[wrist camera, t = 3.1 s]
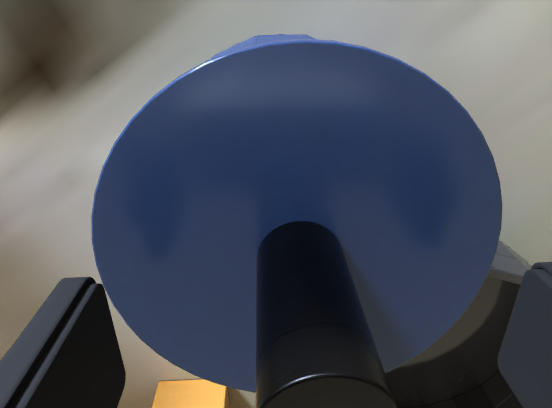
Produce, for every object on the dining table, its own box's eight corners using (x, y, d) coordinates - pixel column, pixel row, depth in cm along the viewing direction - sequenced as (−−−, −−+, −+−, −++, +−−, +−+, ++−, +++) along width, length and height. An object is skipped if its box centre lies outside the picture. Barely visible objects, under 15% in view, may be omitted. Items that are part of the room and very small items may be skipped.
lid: (60, 40, 10) (-205, 89, 4) (527, 32, 10) (861, 67, 4) (139, 375, 15) (69, 598, 9) (446, 362, 15) (555, 569, 9)
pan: (304, 231, 22) (313, 276, 18) (566, 222, 22) (626, 264, 19) (300, 410, 28) (306, 468, 25) (503, 400, 29) (538, 457, 25)
